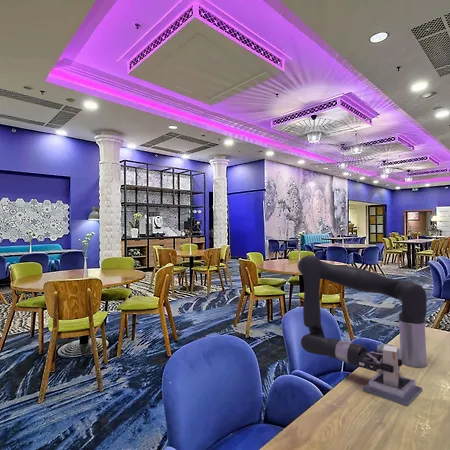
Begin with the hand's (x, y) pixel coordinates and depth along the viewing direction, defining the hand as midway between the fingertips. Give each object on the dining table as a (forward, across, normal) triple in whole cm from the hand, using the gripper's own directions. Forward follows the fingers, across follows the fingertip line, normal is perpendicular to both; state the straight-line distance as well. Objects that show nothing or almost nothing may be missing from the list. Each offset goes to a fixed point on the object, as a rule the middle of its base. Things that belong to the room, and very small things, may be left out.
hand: (397, 366), depth 108 cm
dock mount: (-2, 0, +9) cm, 9 cm away
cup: (-8, +13, +9) cm, 18 cm away
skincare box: (-2, 0, +7) cm, 7 cm away
